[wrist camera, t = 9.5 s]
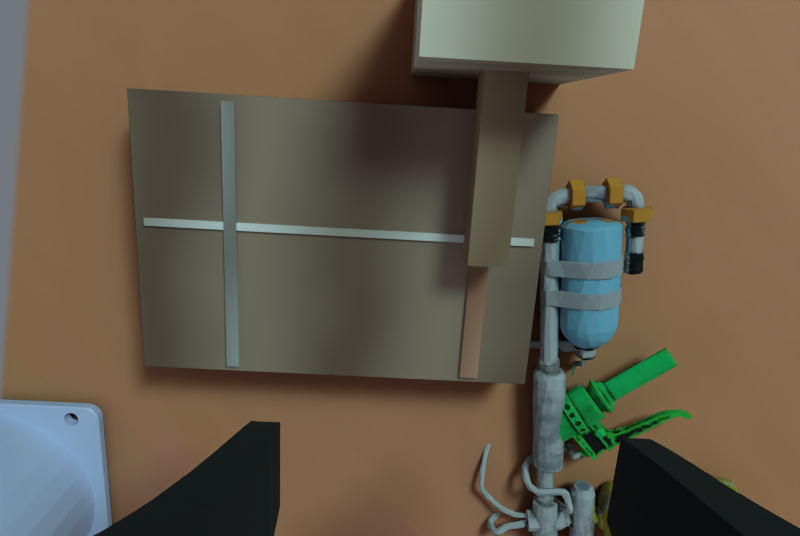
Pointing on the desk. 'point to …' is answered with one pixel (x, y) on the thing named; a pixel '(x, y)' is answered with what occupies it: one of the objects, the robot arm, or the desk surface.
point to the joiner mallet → (514, 83)
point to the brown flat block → (327, 238)
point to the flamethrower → (582, 355)
